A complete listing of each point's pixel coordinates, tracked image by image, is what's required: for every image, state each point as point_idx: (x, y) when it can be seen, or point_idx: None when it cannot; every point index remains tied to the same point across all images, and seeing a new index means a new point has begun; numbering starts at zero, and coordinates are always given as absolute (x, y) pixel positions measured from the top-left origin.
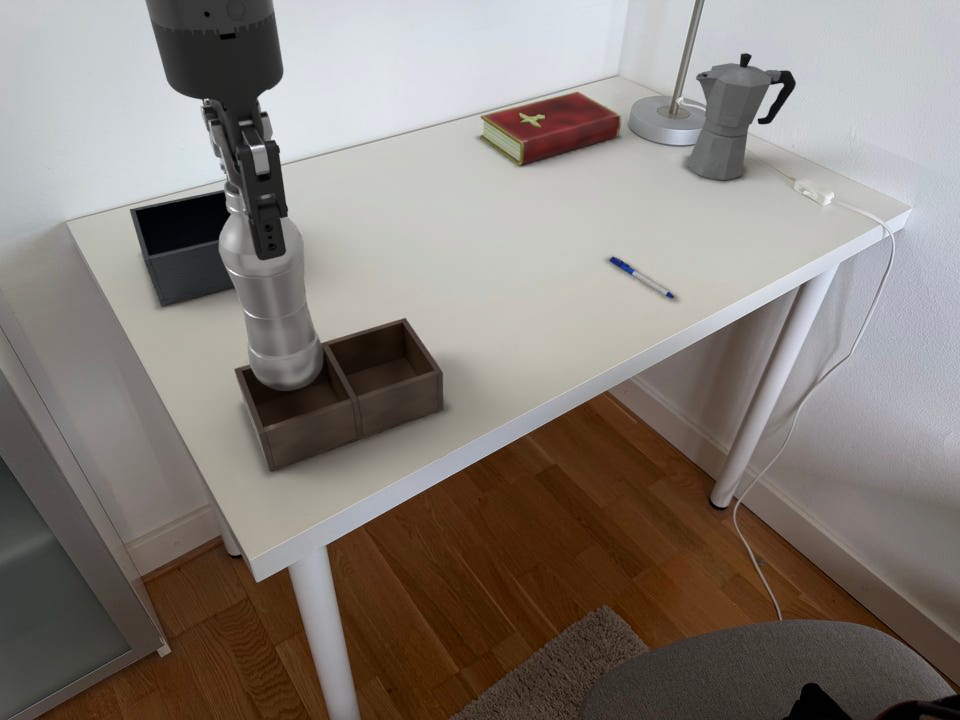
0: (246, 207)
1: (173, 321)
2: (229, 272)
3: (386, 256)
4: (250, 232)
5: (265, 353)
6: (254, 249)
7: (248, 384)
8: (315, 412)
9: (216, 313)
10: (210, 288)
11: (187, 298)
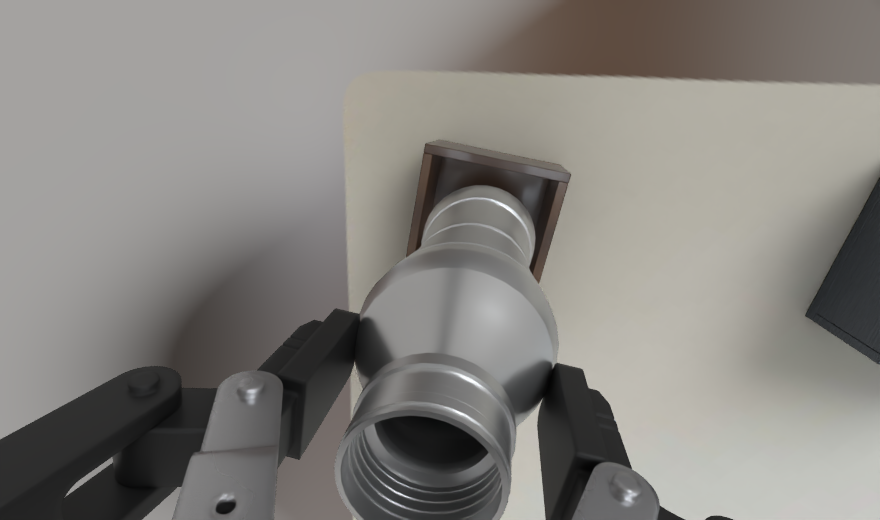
0: (214, 402)
1: (832, 156)
2: (453, 241)
3: (699, 469)
4: (334, 346)
5: (445, 211)
6: (350, 319)
7: (554, 181)
8: (415, 223)
9: (789, 221)
10: (855, 241)
11: (870, 200)
